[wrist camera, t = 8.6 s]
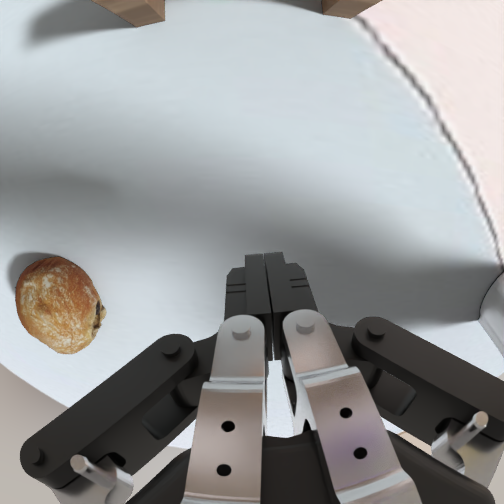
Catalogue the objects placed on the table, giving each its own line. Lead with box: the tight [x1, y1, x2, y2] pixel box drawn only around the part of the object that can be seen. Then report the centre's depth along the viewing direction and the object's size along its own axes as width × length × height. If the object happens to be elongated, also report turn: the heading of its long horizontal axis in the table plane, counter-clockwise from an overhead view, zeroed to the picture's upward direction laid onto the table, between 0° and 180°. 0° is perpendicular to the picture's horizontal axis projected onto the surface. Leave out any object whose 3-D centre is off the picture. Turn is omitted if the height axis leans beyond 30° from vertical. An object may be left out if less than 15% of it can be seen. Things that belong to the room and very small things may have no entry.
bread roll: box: [15, 257, 106, 354], centre depth 22 cm, size 10×10×8 cm
